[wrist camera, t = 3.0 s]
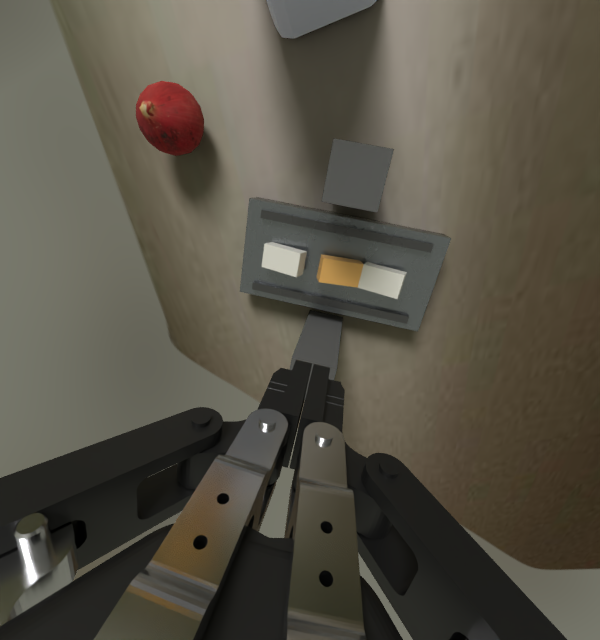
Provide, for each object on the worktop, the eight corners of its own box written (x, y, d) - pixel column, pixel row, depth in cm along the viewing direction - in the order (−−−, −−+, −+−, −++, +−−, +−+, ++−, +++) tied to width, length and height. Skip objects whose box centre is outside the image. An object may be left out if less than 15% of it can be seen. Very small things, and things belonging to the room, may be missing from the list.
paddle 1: (306, 251, 32) (300, 253, 31) (302, 274, 33) (296, 277, 32) (272, 241, 34) (264, 243, 32) (269, 264, 35) (261, 266, 33)
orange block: (359, 260, 33) (363, 264, 32) (353, 282, 34) (357, 287, 32) (321, 254, 32) (323, 258, 31) (316, 277, 33) (318, 282, 32)
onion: (223, 150, 34) (186, 141, 27) (175, 163, 35) (127, 157, 28) (206, 86, 32) (162, 56, 25) (156, 102, 33) (99, 78, 26)
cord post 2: (381, 161, 32) (393, 149, 21) (370, 204, 34) (377, 212, 23) (341, 154, 32) (333, 138, 21) (333, 196, 34) (321, 201, 23)
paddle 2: (406, 272, 32) (404, 275, 30) (399, 295, 33) (397, 299, 31) (367, 261, 33) (363, 264, 32) (361, 284, 34) (357, 287, 32)
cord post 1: (342, 317, 39) (337, 368, 28) (335, 346, 40) (327, 405, 30) (310, 309, 39) (291, 357, 28) (304, 339, 41) (284, 394, 30)
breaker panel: (443, 234, 34) (452, 239, 30) (413, 320, 38) (418, 333, 34) (257, 197, 35) (247, 198, 32) (247, 284, 39) (238, 293, 36)
